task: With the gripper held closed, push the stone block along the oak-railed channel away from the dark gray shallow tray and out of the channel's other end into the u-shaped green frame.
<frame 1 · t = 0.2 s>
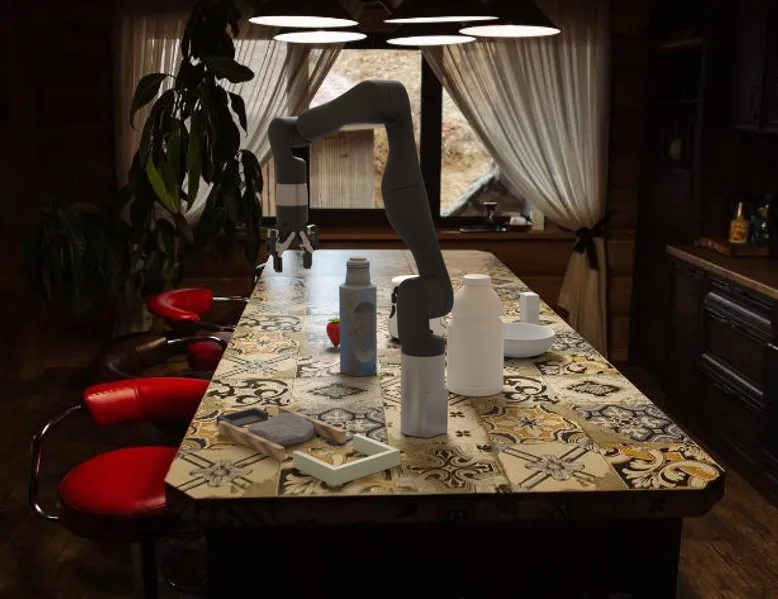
hand: (293, 270, 231), 29 cm above the countertop, tool pointing down, fingers open, 8 cm apart
channel: (281, 437, 199), on the countertop
serving bowl: (516, 355, 269), on the countertop
milk container: (416, 340, 285), on the countertop
strawberry: (336, 347, 276), on the countertop
bottle: (358, 372, 250), on the countertop
skincare box: (528, 333, 295), on the countertop
dark gray shallow tray: (242, 421, 210), on the countertop
u-shaped green frame: (345, 465, 184), on the countertop
bottle 2: (474, 390, 235), on the countertop
stone block: (283, 441, 199), on the countertop
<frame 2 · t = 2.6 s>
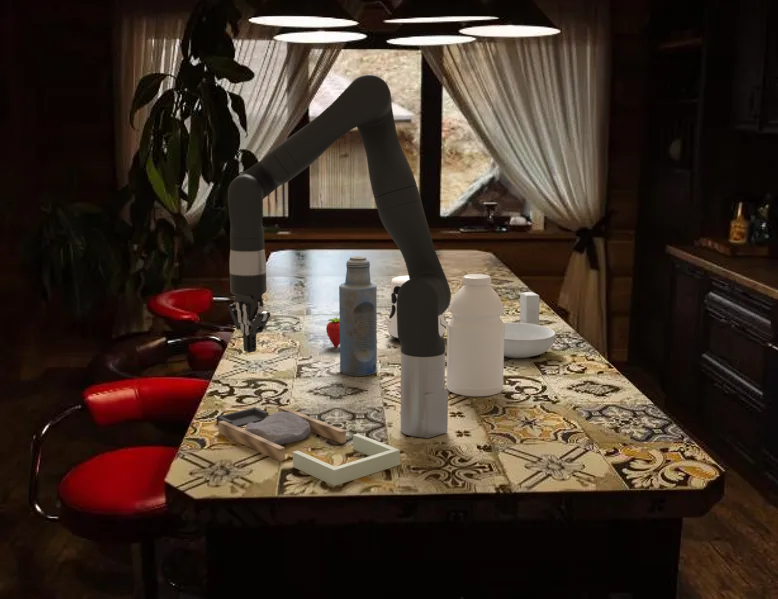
hand: (249, 351, 204), 16 cm above the countertop, tool pointing down, fingers closed
stone block: (280, 440, 200), on the countertop
everything else where it was.
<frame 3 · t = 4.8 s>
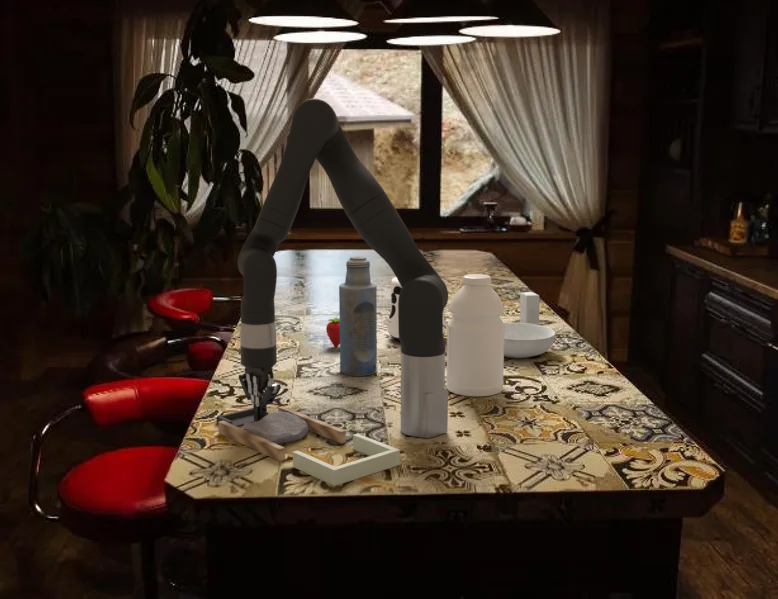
hand: (260, 421, 205), 1 cm above the countertop, tool pointing down, fingers closed
stone block: (277, 439, 200), on the countertop, touching gripper
everything else where it was.
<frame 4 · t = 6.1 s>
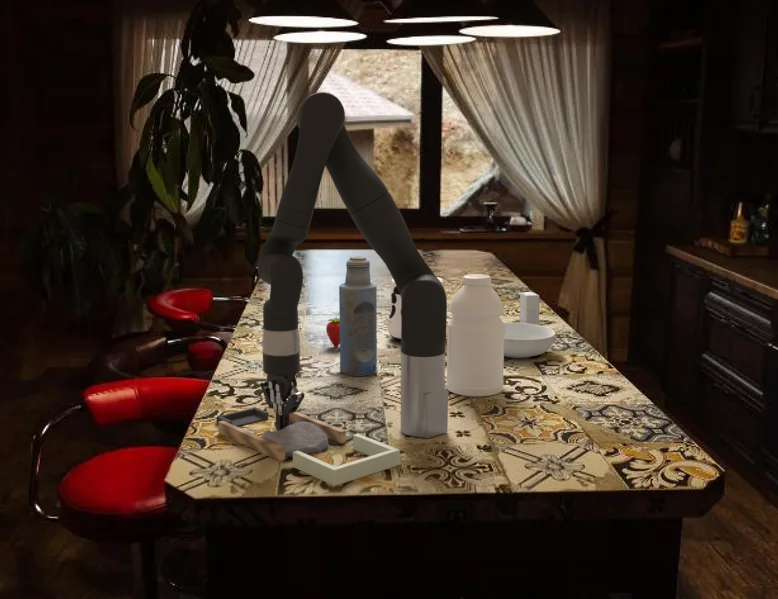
hand: (282, 430, 199), 2 cm above the countertop, tool pointing down, fingers closed
stone block: (296, 451, 194), on the countertop
everything else where it was.
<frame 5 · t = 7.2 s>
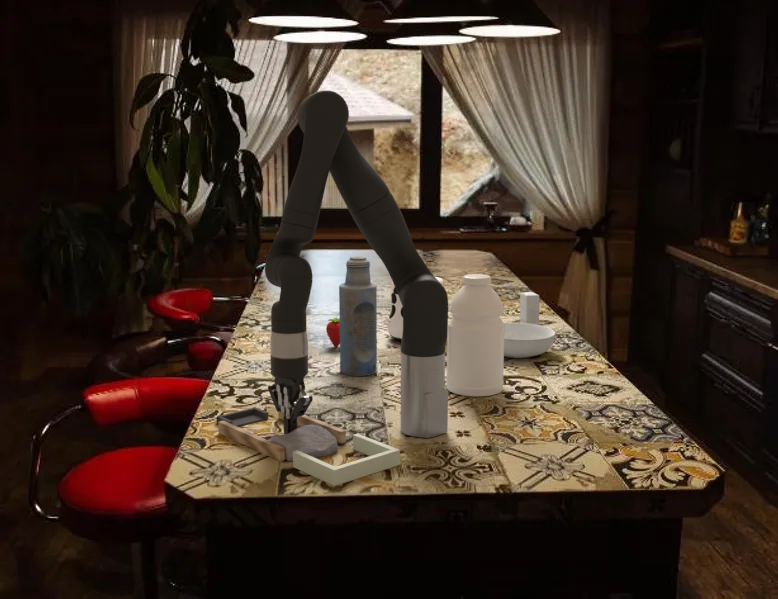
hand: (290, 434, 197), 2 cm above the countertop, tool pointing down, fingers closed
stone block: (305, 454, 192), on the countertop, touching gripper
everything else where it was.
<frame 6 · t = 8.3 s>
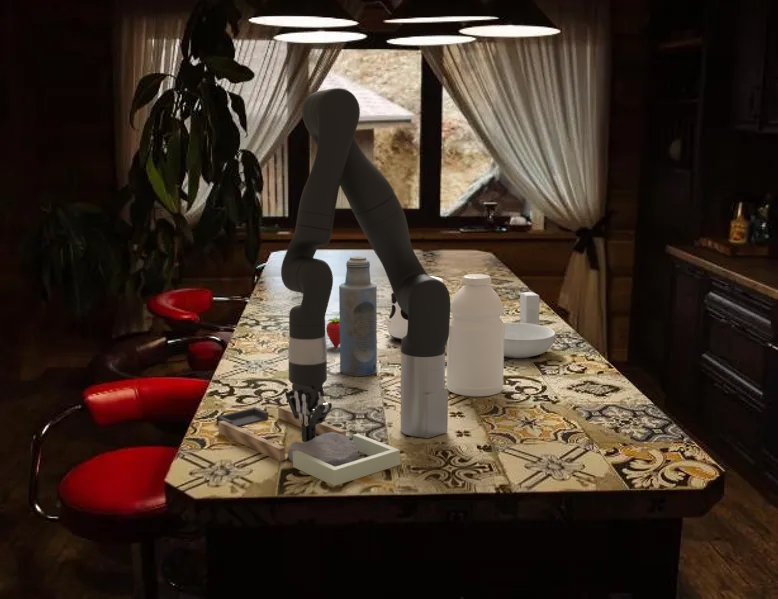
hand: (308, 441, 192), 2 cm above the countertop, tool pointing down, fingers closed
stone block: (325, 462, 187), on the countertop, touching gripper
everything else where it was.
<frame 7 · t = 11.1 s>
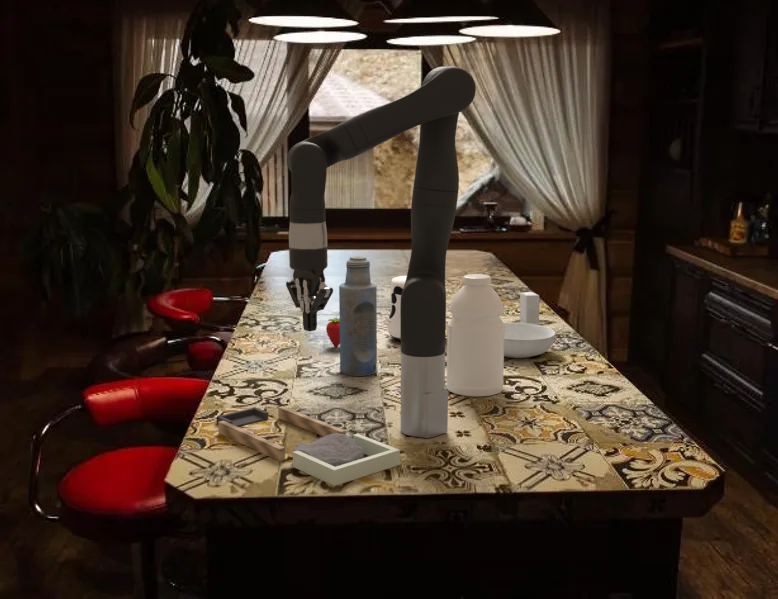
hand: (309, 330, 193), 23 cm above the countertop, tool pointing down, fingers closed
stone block: (330, 464, 186), on the countertop
everything else where it was.
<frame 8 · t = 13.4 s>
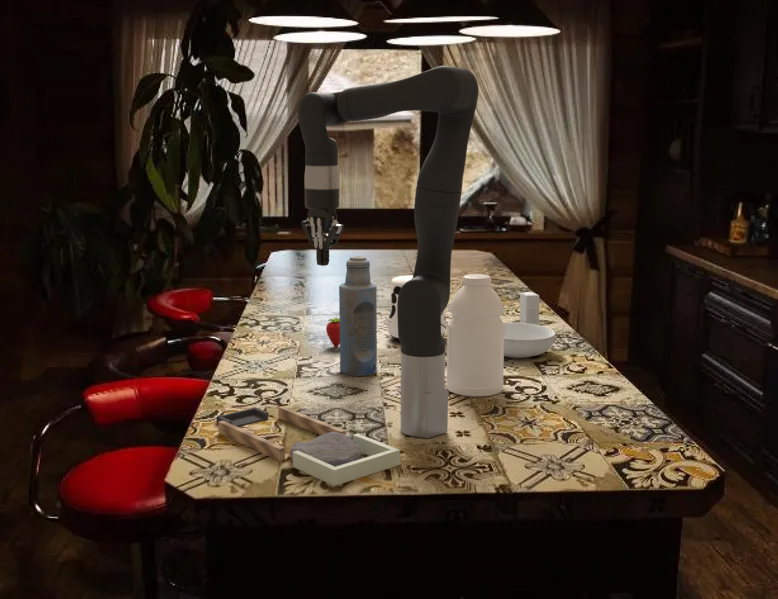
hand: (322, 265, 213), 33 cm above the countertop, tool pointing down, fingers closed
stone block: (327, 462, 187), on the countertop
everything else where it was.
at the end: stone block inside the target area (4.2 cm from its centre), on the countertop; stone block moved 15.5 cm from its start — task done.
